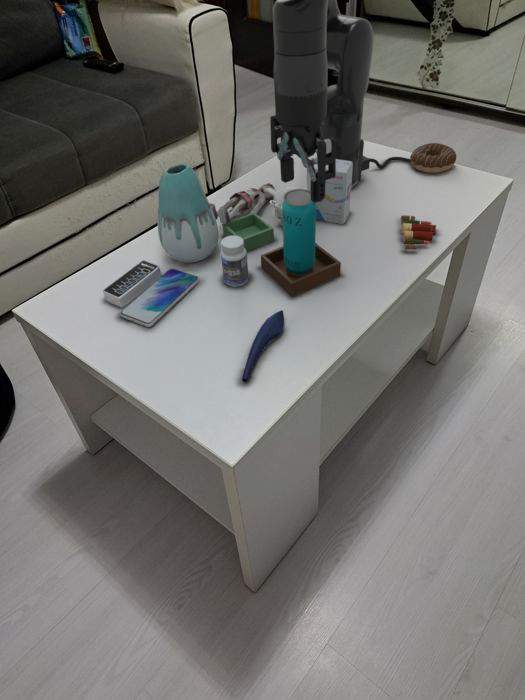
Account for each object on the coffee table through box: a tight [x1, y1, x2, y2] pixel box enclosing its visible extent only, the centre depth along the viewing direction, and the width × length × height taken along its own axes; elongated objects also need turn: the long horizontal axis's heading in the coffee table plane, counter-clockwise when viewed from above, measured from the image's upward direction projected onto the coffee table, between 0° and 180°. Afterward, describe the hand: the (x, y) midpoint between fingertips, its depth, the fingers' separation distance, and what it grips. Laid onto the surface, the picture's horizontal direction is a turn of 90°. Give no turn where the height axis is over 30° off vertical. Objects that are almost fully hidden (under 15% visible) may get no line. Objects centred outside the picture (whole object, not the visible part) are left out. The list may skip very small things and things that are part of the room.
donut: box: [409, 142, 457, 174], centre depth 119 cm, size 11×11×4 cm
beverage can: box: [282, 188, 317, 276], centre depth 88 cm, size 6×6×15 cm
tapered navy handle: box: [241, 310, 285, 383], centre depth 79 cm, size 16×4×2 cm, turn 157°
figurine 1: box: [209, 182, 276, 224], centre depth 107 cm, size 6×6×20 cm
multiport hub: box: [102, 260, 163, 309], centre depth 92 cm, size 4×11×2 cm, turn 147°
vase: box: [157, 162, 219, 263], centre depth 94 cm, size 12×12×18 cm
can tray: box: [260, 242, 342, 298], centre depth 93 cm, size 11×11×3 cm
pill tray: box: [221, 213, 275, 253], centre depth 102 cm, size 8×8×3 cm
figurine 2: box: [266, 185, 300, 227], centre depth 103 cm, size 12×8×10 cm
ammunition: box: [400, 214, 437, 251], centre depth 99 cm, size 12×2×6 cm
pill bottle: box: [220, 236, 250, 287], centre depth 90 cm, size 5×5×8 cm
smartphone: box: [119, 268, 200, 328], centre depth 90 cm, size 7×1×15 cm
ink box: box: [306, 156, 353, 225], centre depth 103 cm, size 9×5×12 cm, turn 68°
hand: (302, 190), depth 82 cm, fingers open, 8 cm apart
